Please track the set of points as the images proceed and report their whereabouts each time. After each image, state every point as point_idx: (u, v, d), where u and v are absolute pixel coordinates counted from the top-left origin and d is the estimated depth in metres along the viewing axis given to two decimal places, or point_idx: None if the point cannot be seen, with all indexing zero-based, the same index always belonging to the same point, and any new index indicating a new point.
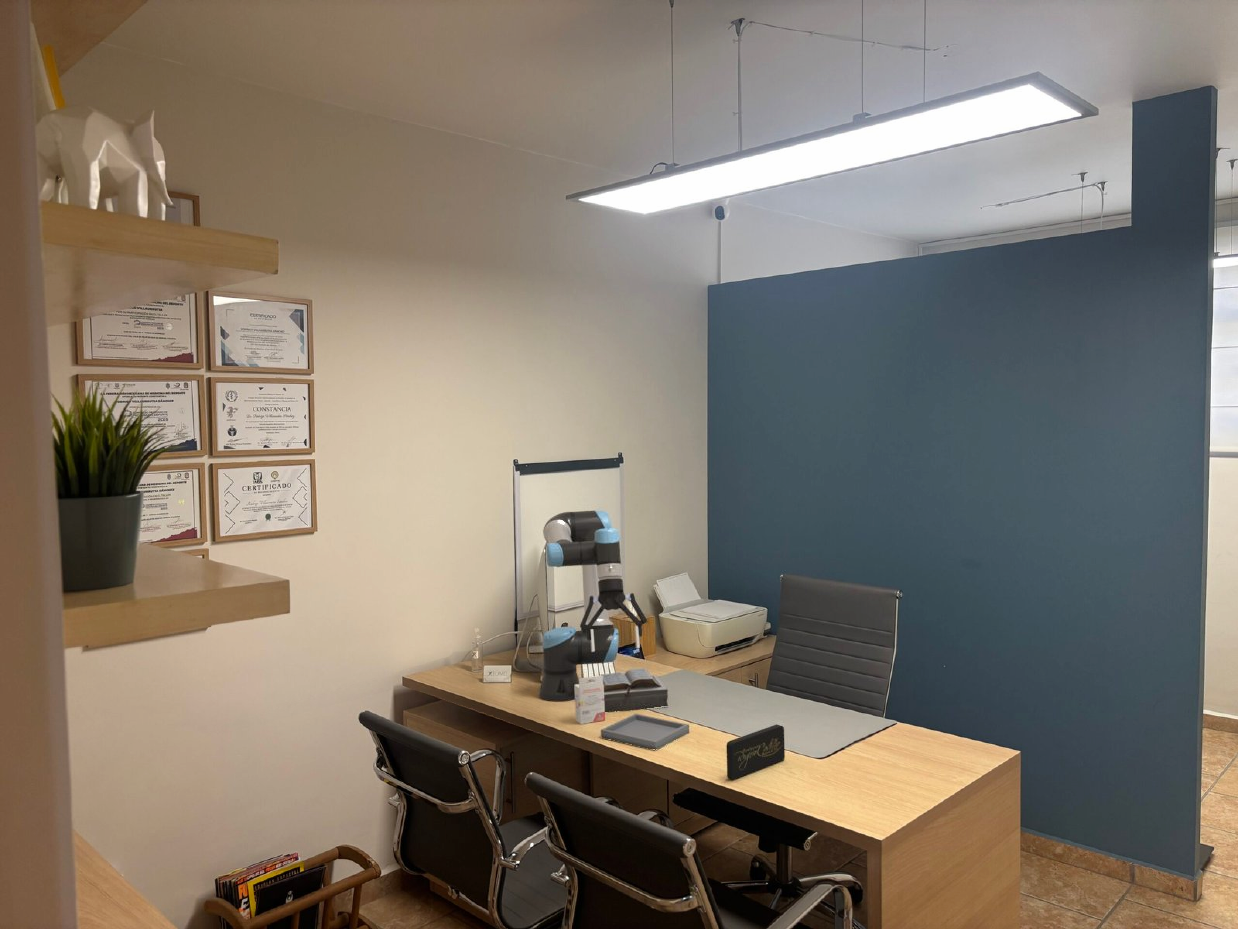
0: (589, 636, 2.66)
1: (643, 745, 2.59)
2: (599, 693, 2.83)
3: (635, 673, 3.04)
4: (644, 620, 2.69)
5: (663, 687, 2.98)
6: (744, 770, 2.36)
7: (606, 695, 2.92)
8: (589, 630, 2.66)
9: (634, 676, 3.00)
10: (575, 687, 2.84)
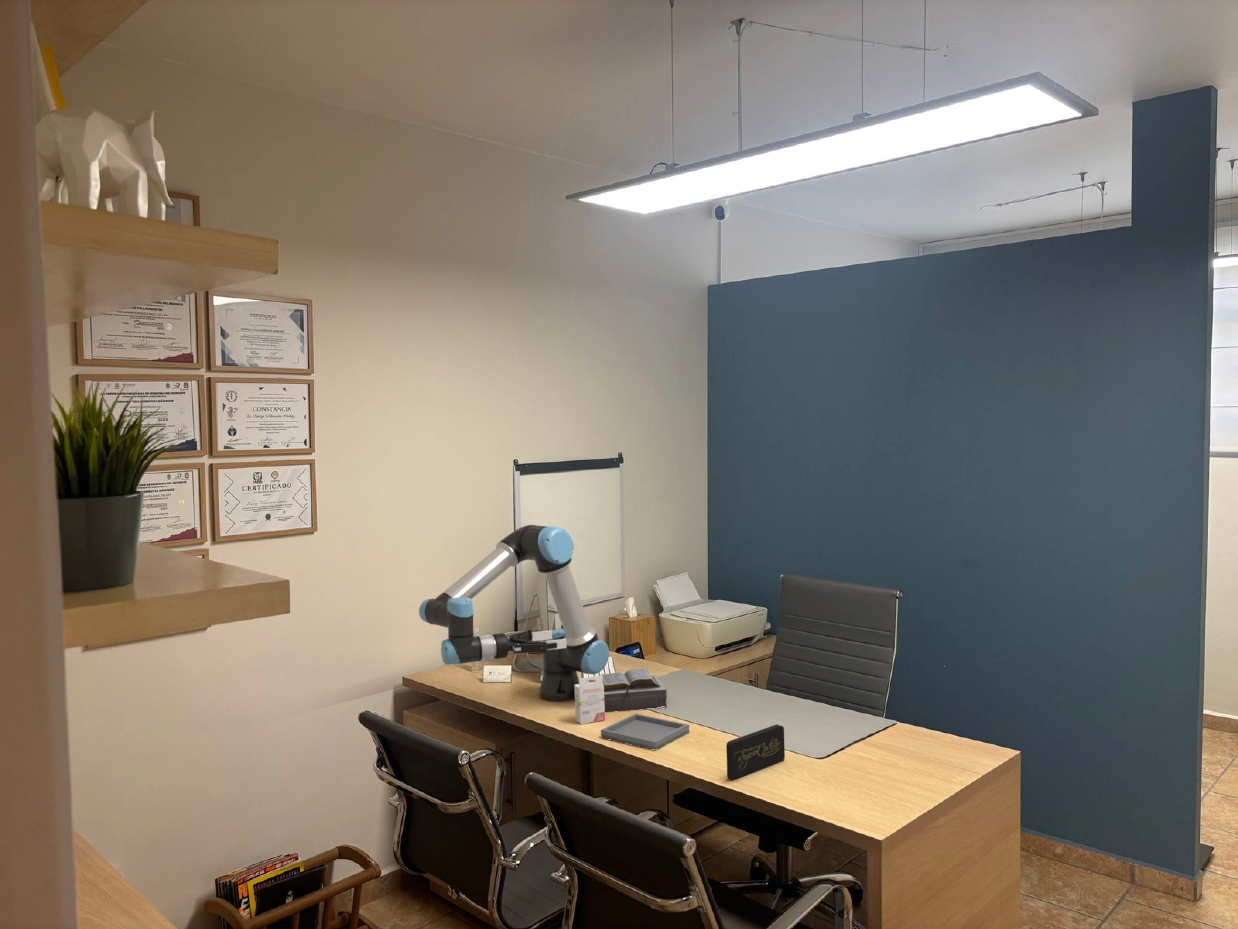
0: None
1: (643, 745, 2.59)
2: (599, 693, 2.83)
3: (635, 673, 3.04)
4: None
5: (662, 687, 2.97)
6: (744, 770, 2.36)
7: (605, 695, 2.92)
8: None
9: (634, 677, 3.00)
10: (575, 687, 2.84)
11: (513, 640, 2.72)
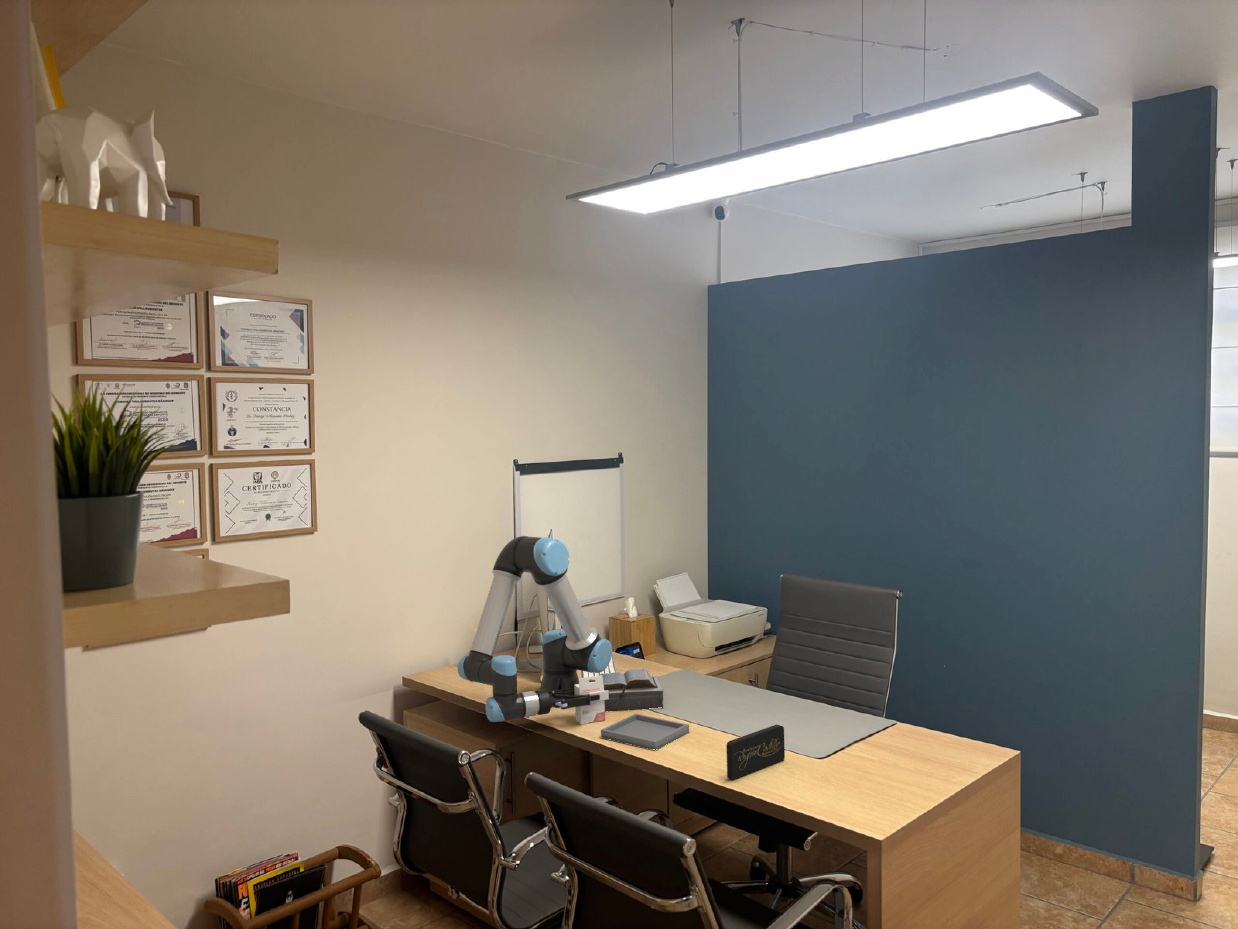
0: None
1: (643, 745, 2.59)
2: None
3: (633, 673, 3.04)
4: None
5: (659, 688, 2.97)
6: (744, 770, 2.36)
7: None
8: None
9: (631, 677, 3.00)
10: (575, 687, 2.84)
11: (556, 696, 2.78)
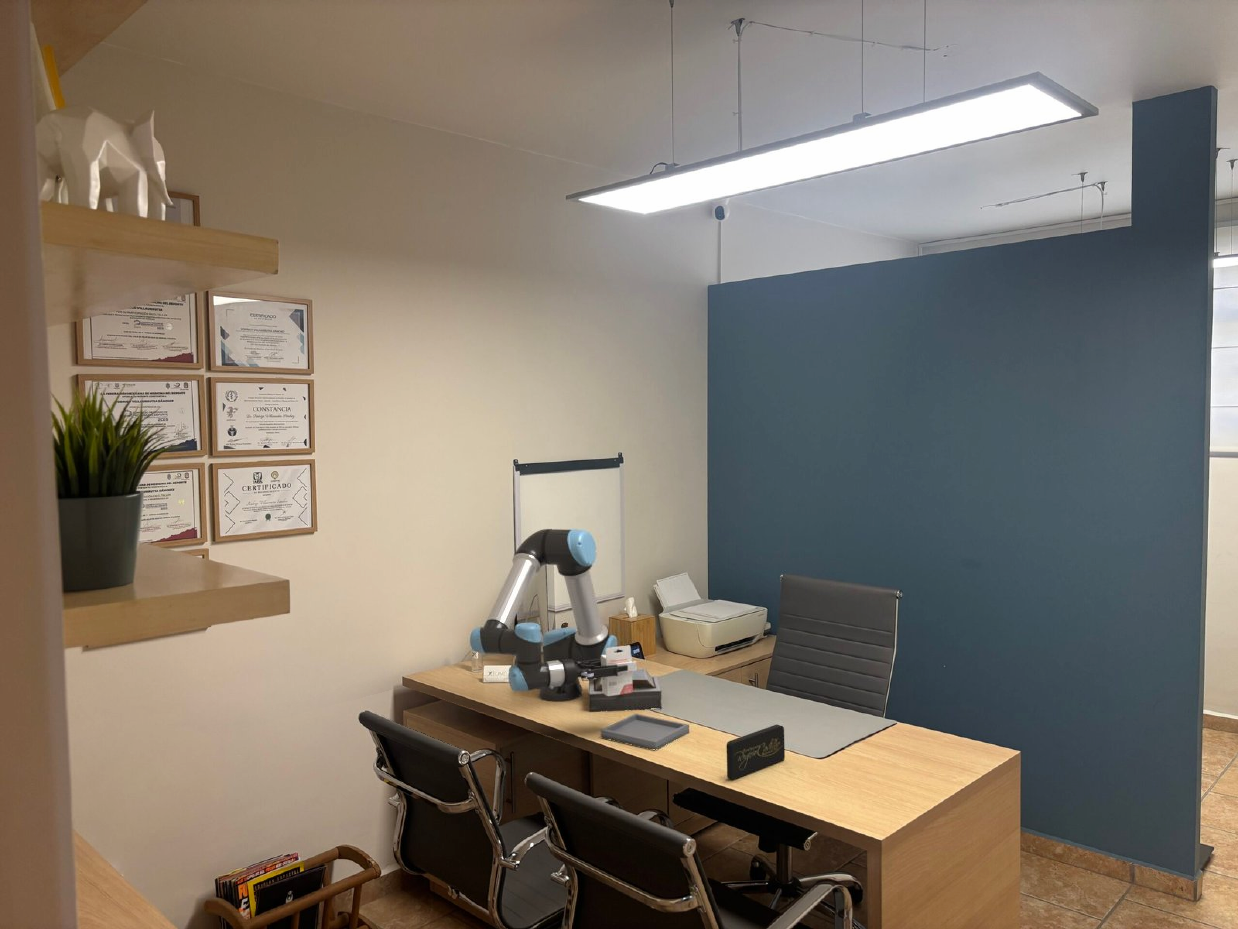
0: None
1: (643, 745, 2.59)
2: None
3: (632, 673, 3.03)
4: None
5: (658, 688, 2.96)
6: (744, 770, 2.36)
7: (599, 694, 2.93)
8: None
9: None
10: (602, 657, 2.72)
11: (582, 666, 2.66)
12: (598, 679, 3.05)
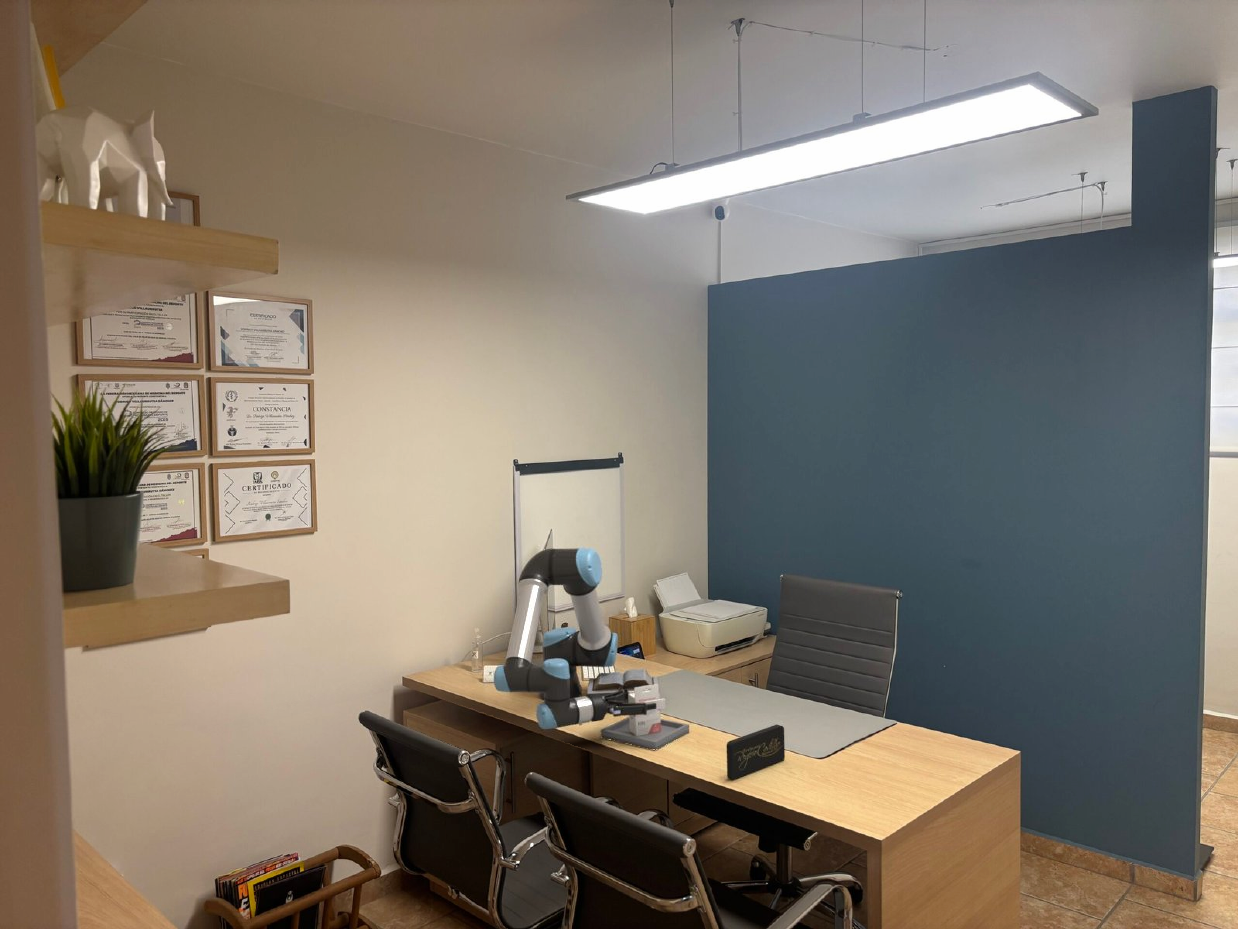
0: None
1: (643, 745, 2.59)
2: None
3: (631, 673, 3.03)
4: None
5: None
6: (744, 770, 2.36)
7: (596, 694, 2.94)
8: None
9: (628, 677, 3.00)
10: (629, 697, 2.69)
11: (610, 702, 2.63)
12: (597, 679, 3.06)
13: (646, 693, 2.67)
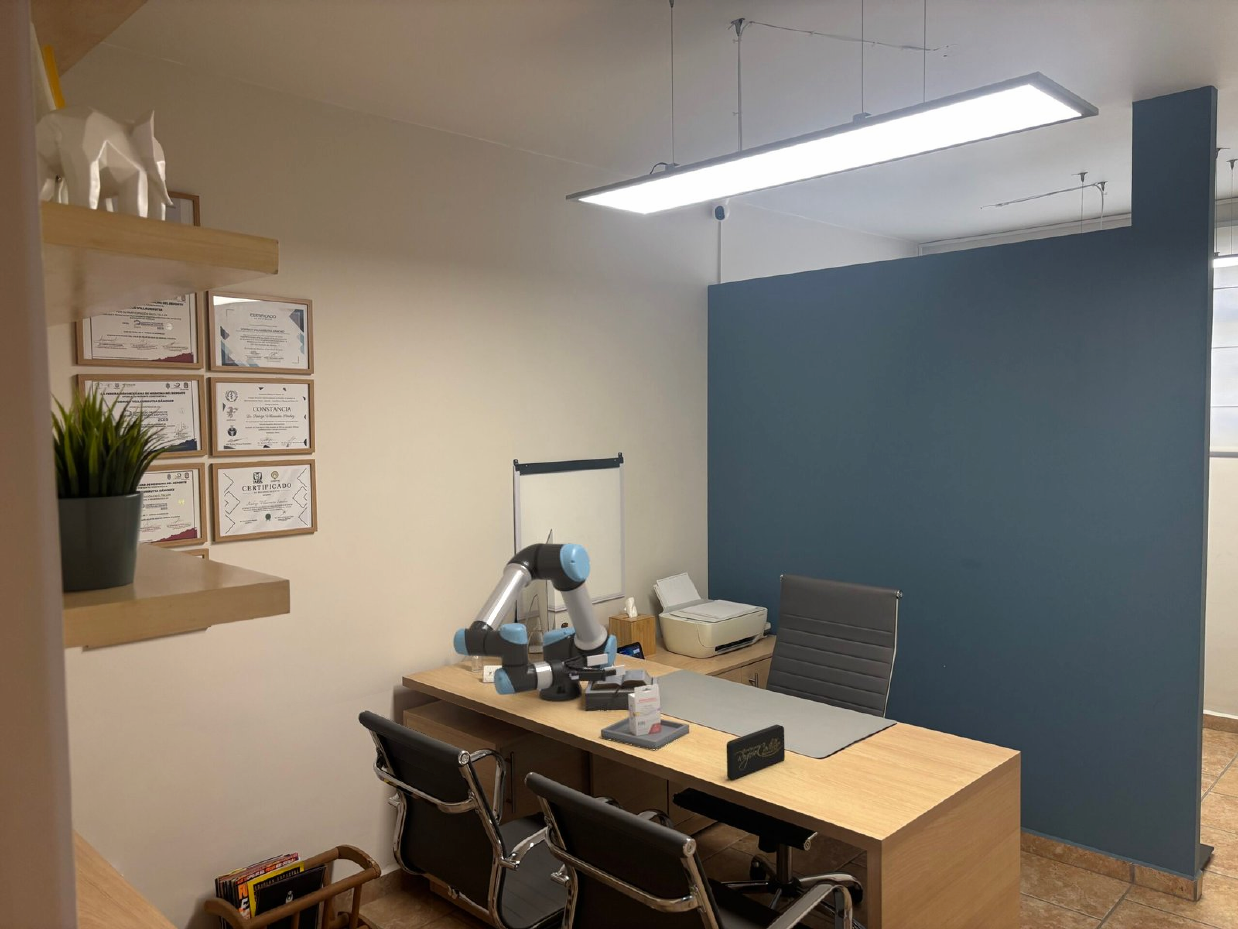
0: None
1: (643, 745, 2.59)
2: (655, 703, 2.68)
3: (630, 673, 3.03)
4: None
5: None
6: (744, 770, 2.36)
7: (594, 693, 2.94)
8: None
9: (627, 677, 3.00)
10: (629, 697, 2.69)
11: (569, 667, 2.57)
12: None
13: (646, 693, 2.67)
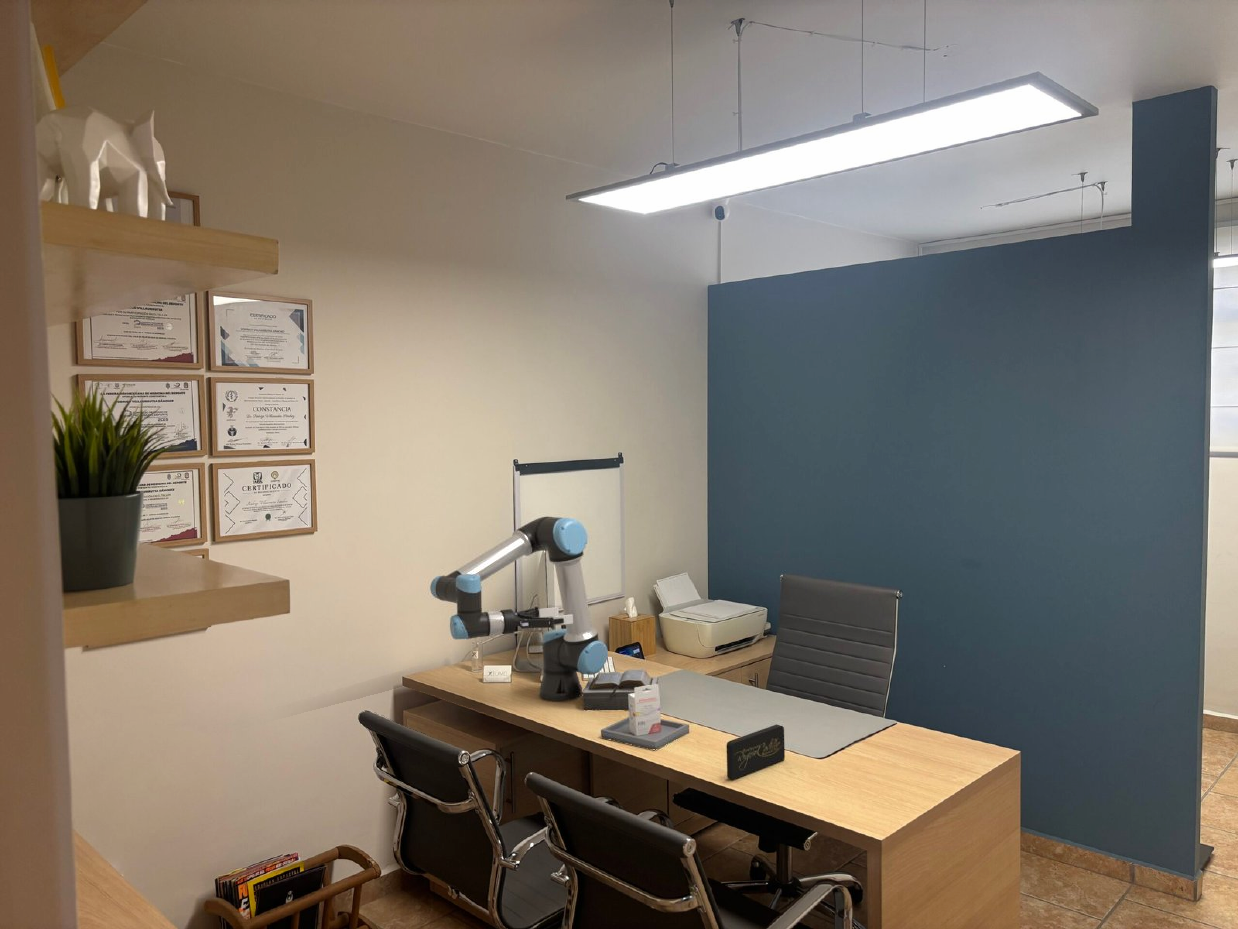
0: None
1: (643, 745, 2.59)
2: (655, 703, 2.68)
3: (629, 674, 3.03)
4: None
5: None
6: (744, 770, 2.36)
7: (591, 693, 2.95)
8: None
9: (625, 677, 3.00)
10: (629, 697, 2.69)
11: (520, 616, 2.77)
12: (596, 678, 3.07)
13: (646, 693, 2.67)
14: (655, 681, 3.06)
